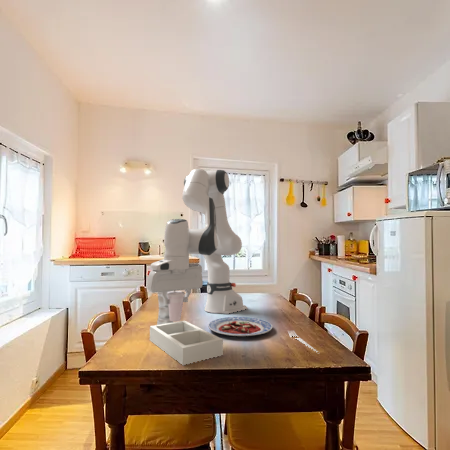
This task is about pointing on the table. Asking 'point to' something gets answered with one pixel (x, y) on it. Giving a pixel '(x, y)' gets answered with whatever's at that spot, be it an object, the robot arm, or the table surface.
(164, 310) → the plastic bottle
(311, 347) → the fork
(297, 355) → the table surface
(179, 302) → the smoothie
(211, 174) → the robot arm
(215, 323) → the ceramic plate
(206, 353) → the caddy
